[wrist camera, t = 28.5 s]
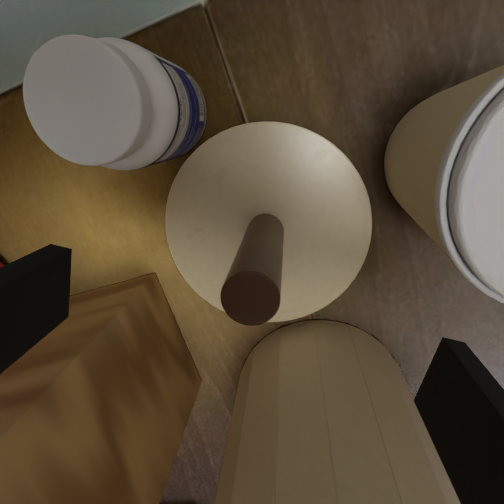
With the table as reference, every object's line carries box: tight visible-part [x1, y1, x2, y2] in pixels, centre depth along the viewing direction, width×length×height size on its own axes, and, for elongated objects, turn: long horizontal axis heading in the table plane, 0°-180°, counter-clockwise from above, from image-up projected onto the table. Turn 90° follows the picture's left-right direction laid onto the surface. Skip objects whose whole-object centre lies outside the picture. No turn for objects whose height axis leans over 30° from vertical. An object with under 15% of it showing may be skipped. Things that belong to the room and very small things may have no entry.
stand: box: [0, 273, 201, 504], centre depth 18 cm, size 10×10×24 cm
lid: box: [165, 121, 372, 326], centre depth 19 cm, size 14×14×11 cm
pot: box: [214, 320, 461, 504], centre depth 22 cm, size 13×13×14 cm
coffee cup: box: [384, 65, 504, 303], centre depth 17 cm, size 9×9×12 cm
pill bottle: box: [23, 34, 207, 171], centre depth 18 cm, size 6×6×10 cm
